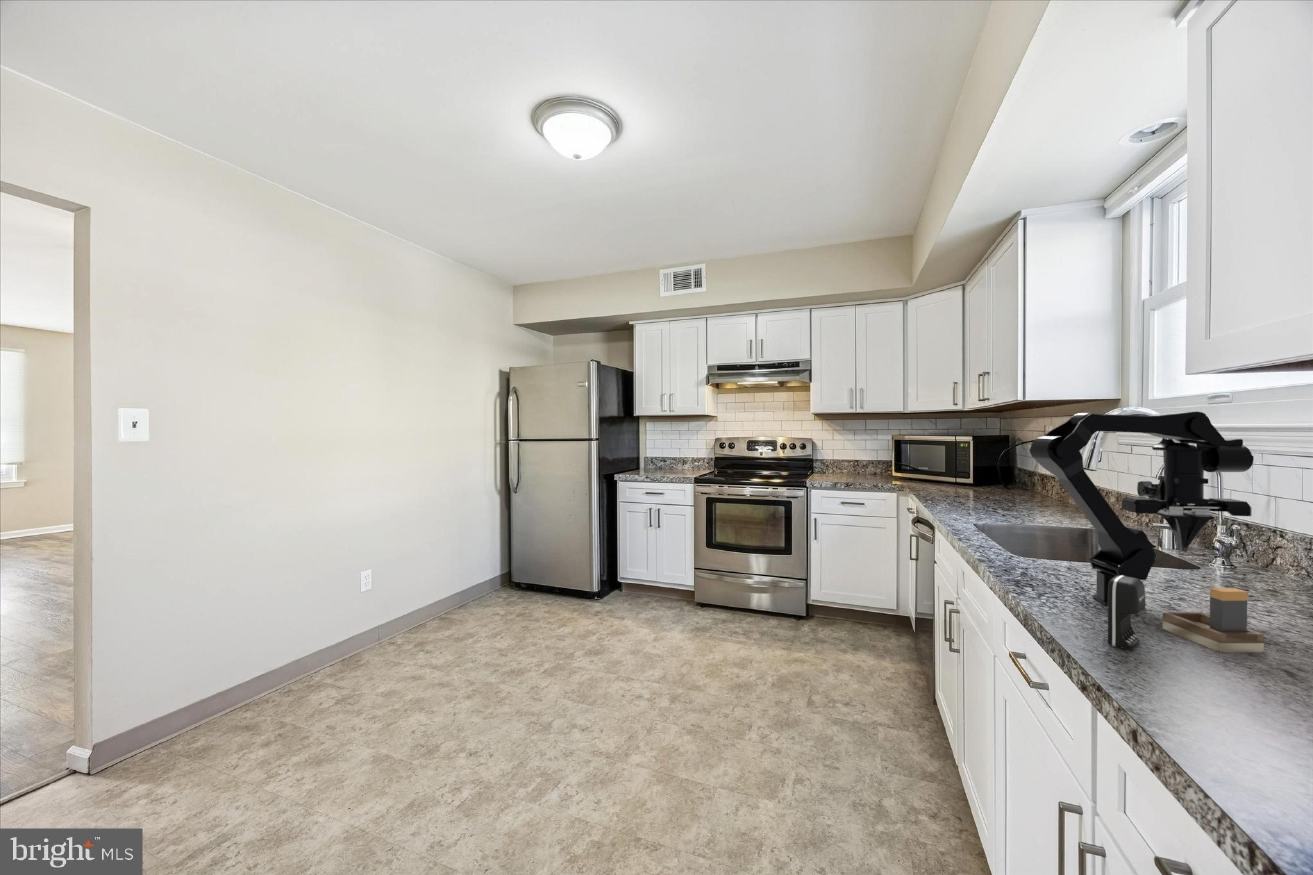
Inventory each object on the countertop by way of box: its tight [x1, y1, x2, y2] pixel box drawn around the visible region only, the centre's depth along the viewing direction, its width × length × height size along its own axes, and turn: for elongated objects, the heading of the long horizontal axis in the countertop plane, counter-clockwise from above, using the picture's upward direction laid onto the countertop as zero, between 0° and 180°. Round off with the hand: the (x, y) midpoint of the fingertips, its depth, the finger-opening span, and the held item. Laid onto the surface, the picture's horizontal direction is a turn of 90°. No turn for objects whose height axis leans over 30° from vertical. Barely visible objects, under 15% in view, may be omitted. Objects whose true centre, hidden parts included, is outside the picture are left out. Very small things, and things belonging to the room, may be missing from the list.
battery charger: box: [1107, 575, 1146, 650], centre depth 89 cm, size 7×4×11 cm, turn 126°
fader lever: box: [1209, 587, 1248, 632], centre depth 88 cm, size 2×4×8 cm, turn 89°
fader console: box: [1162, 611, 1265, 653], centre depth 91 cm, size 10×7×3 cm
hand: (1183, 547), depth 108 cm, fingers closed
